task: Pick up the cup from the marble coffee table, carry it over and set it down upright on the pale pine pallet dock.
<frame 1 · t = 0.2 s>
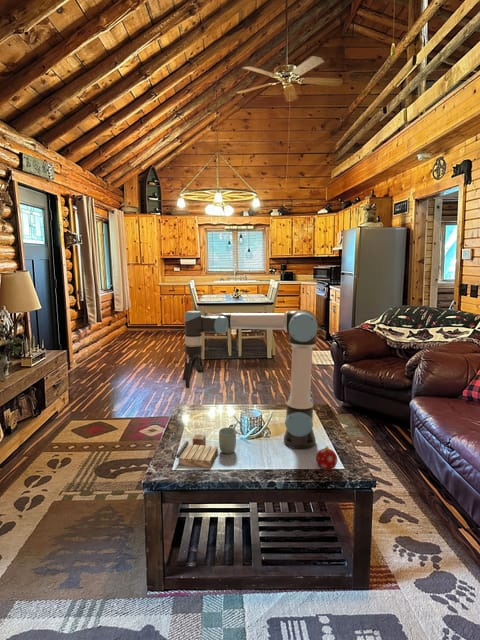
hand: (194, 390, 189), 27 cm above the table, fingers open, 13 cm apart
pallet dock: (198, 458, 181), on the table
christmas ornament: (326, 469, 172), on the table
cup: (227, 452, 187), on the table
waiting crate: (199, 447, 193), on the table
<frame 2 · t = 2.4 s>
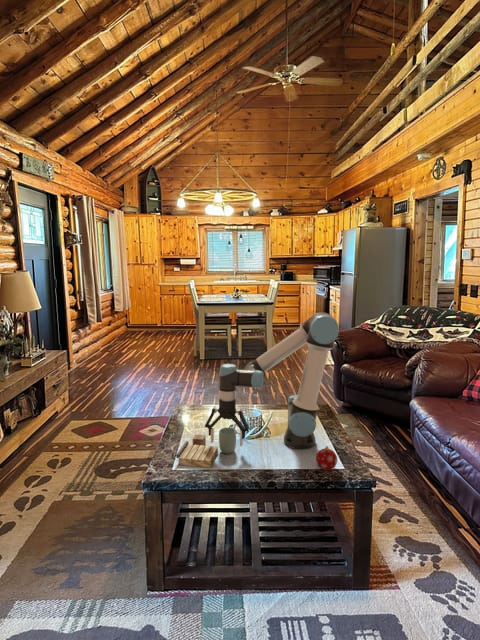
hand: (226, 443, 187), 4 cm above the table, fingers open, 13 cm apart
nothing on the table moved.
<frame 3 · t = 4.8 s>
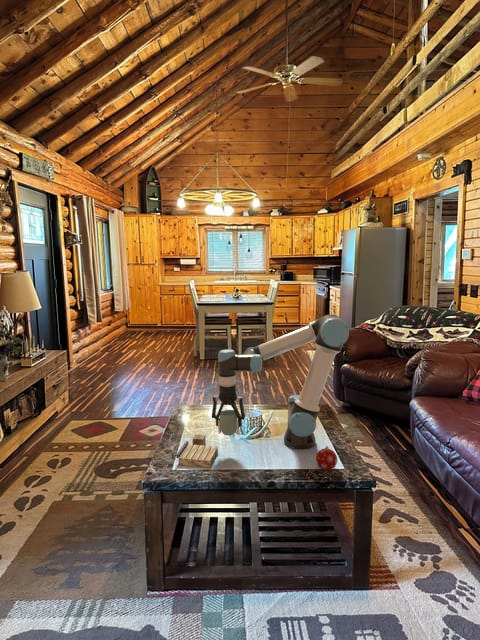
hand: (229, 433, 186), 9 cm above the table, fingers closed on cup, 8 cm apart
cup: (229, 434, 186), point 8 cm above the table, touching gripper
everything else where it was.
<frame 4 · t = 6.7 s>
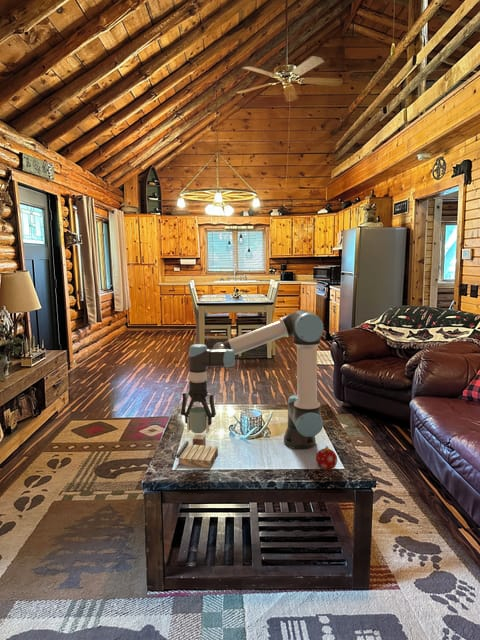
hand: (198, 431, 179), 13 cm above the table, fingers closed on cup, 8 cm apart
cup: (198, 432, 179), point 12 cm above the table, touching gripper
everything else where it was.
when the fingers open (4 cm above the table, at t = 8.9 s): cup stays where it is, resting on pallet dock.
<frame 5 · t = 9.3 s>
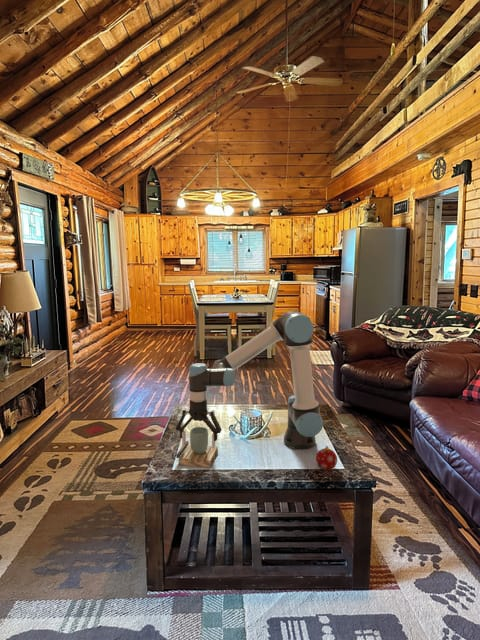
hand: (198, 446, 180), 6 cm above the table, fingers open, 13 cm apart
cup: (199, 452, 180), point 3 cm above the table, touching pallet dock
everything else where it was.
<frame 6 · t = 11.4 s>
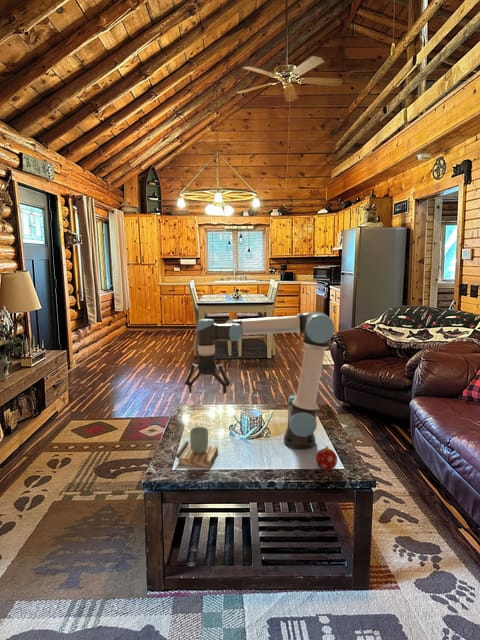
hand: (208, 400, 185), 24 cm above the table, fingers open, 13 cm apart
nothing on the table moved.
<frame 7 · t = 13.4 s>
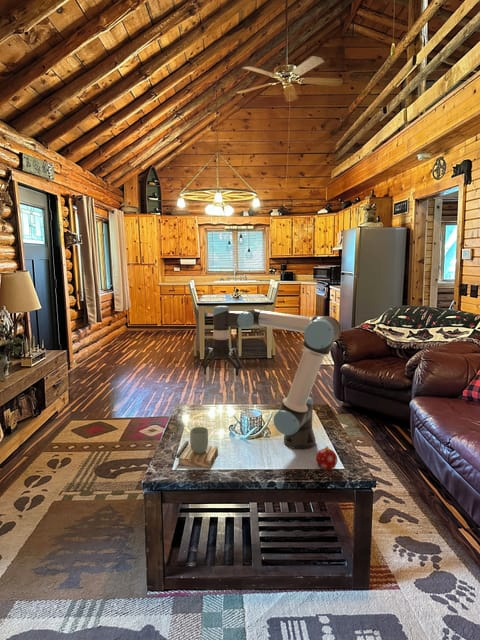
hand: (221, 381, 198), 29 cm above the table, fingers open, 13 cm apart
nothing on the table moved.
at the end: cup inside the target area on the pallet dock (0.2 cm from its centre), point 2.8 cm above the pallet dock's base; cup tilted 0°; the gripper is holding nothing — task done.
